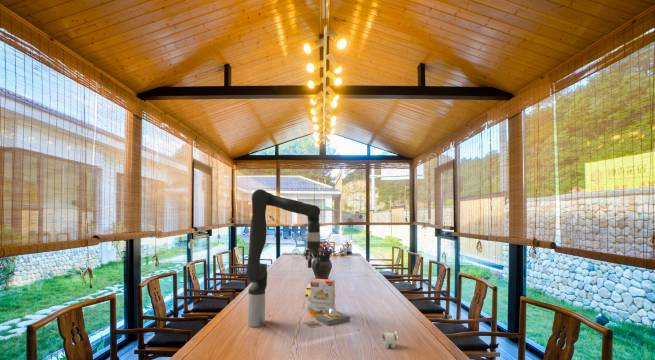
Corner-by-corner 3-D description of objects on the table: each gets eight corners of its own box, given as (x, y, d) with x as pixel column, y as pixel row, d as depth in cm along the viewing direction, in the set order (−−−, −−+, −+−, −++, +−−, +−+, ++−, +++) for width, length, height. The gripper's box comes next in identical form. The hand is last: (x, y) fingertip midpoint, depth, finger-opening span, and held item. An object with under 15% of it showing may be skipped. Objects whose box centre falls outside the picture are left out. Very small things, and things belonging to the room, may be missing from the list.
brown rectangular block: (302, 325, 204) (302, 323, 204) (313, 323, 208) (313, 321, 208) (312, 331, 196) (312, 328, 196) (323, 328, 200) (323, 325, 200)
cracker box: (310, 315, 225) (310, 280, 226) (313, 312, 230) (313, 278, 232) (332, 317, 220) (332, 281, 222) (335, 314, 226) (334, 279, 228)
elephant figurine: (394, 342, 180) (394, 327, 180) (399, 350, 170) (399, 334, 171) (379, 342, 179) (379, 327, 180) (382, 350, 170) (382, 334, 170)
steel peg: (327, 322, 210) (327, 308, 210) (333, 321, 212) (333, 307, 212) (331, 324, 206) (331, 310, 207) (337, 323, 208) (337, 309, 209)
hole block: (315, 322, 210) (315, 315, 210) (337, 318, 218) (337, 310, 218) (327, 328, 200) (327, 320, 200) (349, 323, 208) (349, 315, 208)
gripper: (301, 239, 216) (301, 267, 215) (314, 241, 204) (314, 271, 203) (312, 239, 220) (312, 266, 219) (325, 240, 209) (326, 270, 207)
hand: (313, 268), depth 211 cm, fingers open, 8 cm apart
